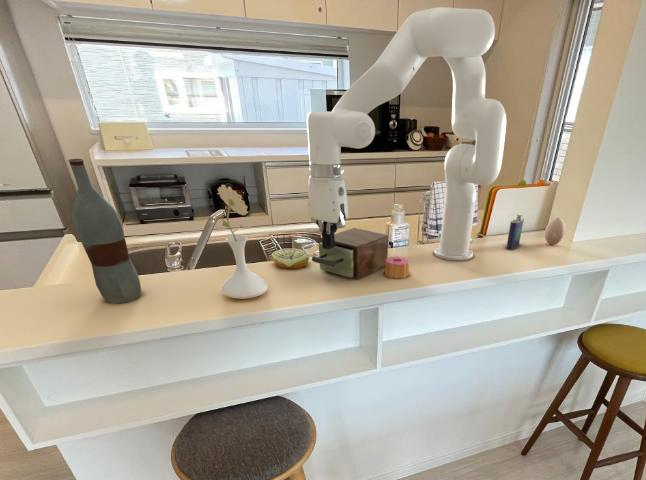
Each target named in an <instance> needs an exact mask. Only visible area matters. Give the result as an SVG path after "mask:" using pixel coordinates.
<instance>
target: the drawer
mask: <svg viewBox="0 0 646 480" xmlns="http://www.w3.org/2000/svg"><path fill="white" fill-rule="evenodd" d="M311 261H312V262H314V263H316V264H319V269H320V270H323V271H325V272H329V273H332V274H336V275H339V276H343V277H347V278H350V279H351V278H352V277H354V274H355V249H354V248H350V247H346V246H341V245H337V244H335V247H334V248H331V249H326V248H325V249H324V248H323V247H322V242H319V243H318V256H315V255H312V257H311ZM352 279H353V278H352Z"/></svg>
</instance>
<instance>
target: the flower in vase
mask: <svg viewBox="0 0 646 480" xmlns="http://www.w3.org/2000/svg"><path fill="white" fill-rule="evenodd" d="M217 191H218V194H219V197H220V199H221V200H222V201H224V203H225V204H226V205H227V213H226V215H227V216H226V220H224V219H222V224H221V225H222V226H223V227H226V228H227V229H228V230H230V232H231V236H228V237H226V238H225V242H226V243H228V245H229V246H230V248H231V250H232V252H233V256H234V259H235V265H236V266H235V271H234V272H233V273H232V274H231V275H230V276H229V277H228V278H226V280H225V281H224V282H223V283H222V285H221V289H220V291H221V293H223V295H224V296H226V297H228V298H232V299H238V300H240V299H241V300H243V299H244V300H246V299H252V298H257V297H259V296H262V295H264V294H265V293H266V292H267V291H268V289H269V284H268V283H267V281H266V280H265V279H263V277H261V276H259V275H258V274H256V273H254V272H252V270H250V269H249V268H248V266H247V263H246V257H245V249H246V248H245V247H246V243H247V241H248V239H249V238H248V237H247V236H244V235H235V232H236V231H238V230H239V229H240V228H242V227H243V224H242V223H241V224H240V225H239V226H237V227H236V228H235V229H232V227H231V225H230V222H229V216H230V210H232V211H233V212H236V213H237V214H238V215H241V216H246V215H247V214H249V211H248V208H249V207H248V205H246V204H245V203H246V202H245V200H243V196H242V195H241V194H238V193H237V191H236V190H233V189H232V187H231V186H226V184H221V186H218V188H217Z"/></svg>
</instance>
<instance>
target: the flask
mask: <svg viewBox="0 0 646 480" xmlns="http://www.w3.org/2000/svg"><path fill="white" fill-rule="evenodd" d="M524 222H525V218H523V214H516V218H515V219H513V220H511V221H510V224H509V230H508V236H507V241H506V242H507V243H506V246H505V249H506V250H507V251H514V250H515V249H517V248H518V247H519V245H520V242H521V235H522V230H523V225H524Z"/></svg>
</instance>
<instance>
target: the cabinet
mask: <svg viewBox="0 0 646 480" xmlns="http://www.w3.org/2000/svg"><path fill="white" fill-rule="evenodd" d="M334 235H335V244H337V245H341V246H346V247H350V248H354V249H355V274H354V277H352V279H356V280H359V279H361V278H364V277H365V276H368V275H370V274H373V273H374V272H377V271H379V270H382V269H383V268H384V269H385V261H386V258H389V257H388V256H389V254H388V253H389V234H385V233H380V232H375V231H371V230H366V229H361V228H357V227H351V228H349V229H346V230H343V231H340V232H335V233H334Z"/></svg>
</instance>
